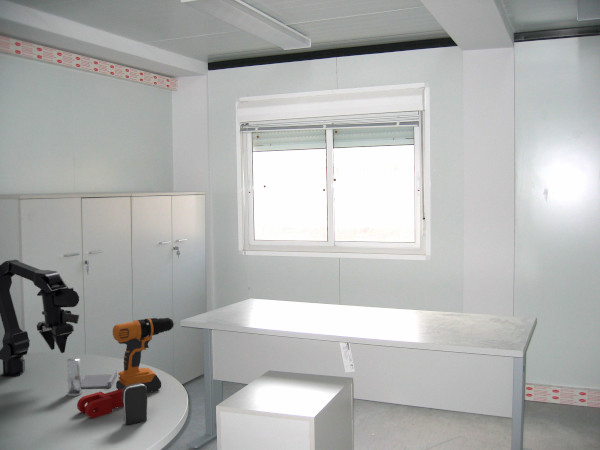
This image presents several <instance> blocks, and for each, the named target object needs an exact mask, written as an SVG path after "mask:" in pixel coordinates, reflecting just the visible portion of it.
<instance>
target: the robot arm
mask: <svg viewBox="0 0 600 450" xmlns="http://www.w3.org/2000/svg"><path fill="white" fill-rule="evenodd" d="M15 275H16V276H19V277H21V278H24V279H25V280H29V281H31V282H32V283H33V285H34V286H35V287H36V288H38V289H39V291H38V292H37V294H36V296H38V297H41V301H42V308H43V311H41V315H43V317H44V320H43V321H39V322H37V324H36V330H37V331H38V334H40V336H41V337H42V338H43V340H44V341H45V343H46V344H47V347H49V349H50V350H51V351H53V350H55V346H57V348H58V350H59V352H60V353H61V354H63V353H65V351H66V346H67V341H68V337H69V336H70V335H72V333H73V332H74V331H75V329H74V325H73V324H78V323H79V319H80V318H79V317H80V315H79V314H77V313H72V310H67V309H66V310H65V309H64V308H75V307H76V306H78V305H79V302H80V295H79V294H78V292H77V291H75V290H74V287H69V286H68V284H66V282H65V281H64V279H63V277H61V275H60V273H59V272H58V271H57V270H51V269H50V270H49V269H39V268H37V267H35V266H32V265H29V264H26V263H24V262H21V261H20V260H17V259H10V260H5V261H3V262H2V263H1V264H0V318H1V322H2V326H3V330H4V334H3V338H2V341H1V342H2V348H1V349H0V360H1V361H2V374H0V375H1V377H9V376H13V377H15V376H22V374H23V373H24V372H25V371H26V360H25V359H24V356H26V355H28V351H29V348H30V342H31V340H30V338H29V334H28V331H27V330H25V331H24V330H23V329H21V327H20V325H19V321H18V317H17V313H16V310H15V307H14V301H13V299H12V294H11V286H12V284H13V281H12V278H13V277H14V276H15ZM71 323H72V324H71Z"/></svg>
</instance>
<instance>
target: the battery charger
mask: <svg viewBox="0 0 600 450" xmlns="http://www.w3.org/2000/svg"><path fill="white" fill-rule="evenodd" d="M122 403H123V404H124V406H123V424H124V425H126V426H129V425H134V424H138V423H143V422H145V421H147V420H148V393H147V388H146V386H145V385H143V384H142V383H136V384H131V385H127V386H125V387H124V388H123V391H122Z"/></svg>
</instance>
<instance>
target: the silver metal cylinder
mask: <svg viewBox="0 0 600 450" xmlns="http://www.w3.org/2000/svg"><path fill="white" fill-rule="evenodd" d="M81 372H82V371H81V358H80V357H70V358H68V359H67V390H68V391H67V396H68V397H70V396H71V397H72V398H74V397H79V396H80V395H82V389H81V382H82V381H81V380H82V379H81V377H82V376H81ZM71 397H70V398H71Z"/></svg>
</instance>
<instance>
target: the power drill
mask: <svg viewBox="0 0 600 450" xmlns="http://www.w3.org/2000/svg"><path fill="white" fill-rule="evenodd" d="M173 320H174V319H172V318H170V317H163V318H162V317H160V318H157V317H153V318H151V317H150V318H144V319H136V320H132V321H129V322H124V323H119V324H115V325H114V326H113V327H112V336H113V339H114V340H116V342H117V343H118V344H120V345H122V344H124V345H126V349H125V352H124V357H123V370H122V371H119V372H117V376H118V380H117V381H116V382H115V388H116V390H119V389H123V388H124V387H125V386H127V385H131V384H136V383H142V384H143V385H145V386H146V388H147V394H150V393H154V392H158V391H159V390H160V389H161V388H162V381H161V380H160V378H159V376H158V375H157V374H156V372H154V371H153V370H152V369H150V368H149V367H147V368H146V367H142V368H141V367H140V364H141V361H142V360H141V358H142V352H143V351H145V350H146V349H149V348H150V347H149V342H151V341H152V340H153V336H156V335H159V334H161V333H164V332H170V331H171V330H172V329H173V328H174V325H175V324H176V321H173ZM149 392H150V393H149Z"/></svg>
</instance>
